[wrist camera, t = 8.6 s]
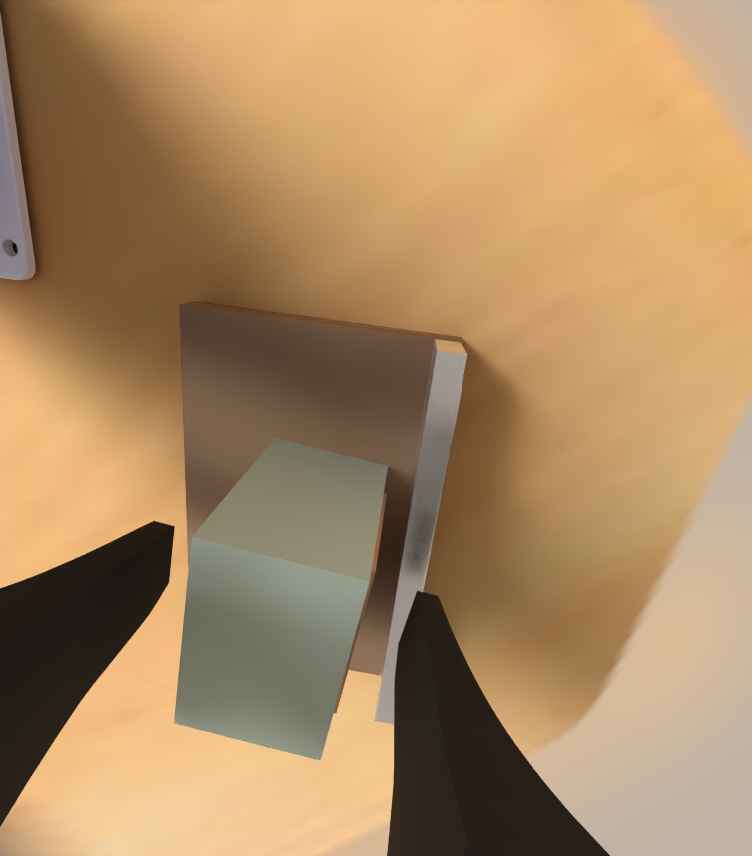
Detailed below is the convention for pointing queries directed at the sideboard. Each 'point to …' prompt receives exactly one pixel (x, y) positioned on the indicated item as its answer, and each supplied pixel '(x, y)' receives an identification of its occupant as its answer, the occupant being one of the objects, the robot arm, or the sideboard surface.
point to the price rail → (422, 504)
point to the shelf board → (304, 415)
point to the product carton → (280, 597)
